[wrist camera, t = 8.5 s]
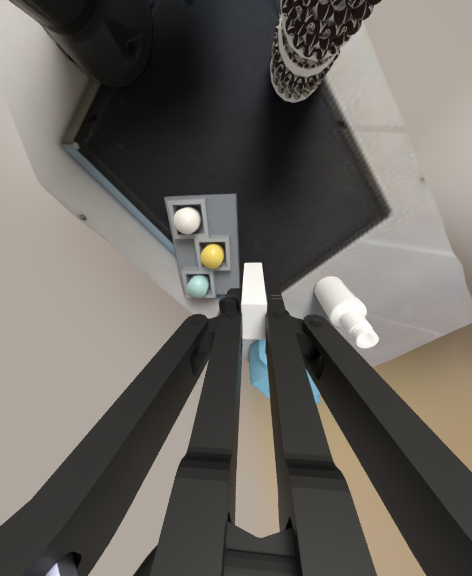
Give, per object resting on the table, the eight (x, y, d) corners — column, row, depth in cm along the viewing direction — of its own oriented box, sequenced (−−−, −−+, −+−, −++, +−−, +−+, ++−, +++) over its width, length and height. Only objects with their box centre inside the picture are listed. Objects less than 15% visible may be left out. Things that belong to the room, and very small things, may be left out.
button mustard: (203, 242, 39) (198, 247, 36) (224, 241, 39) (221, 247, 35) (206, 261, 41) (201, 268, 38) (225, 261, 41) (223, 268, 37)
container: (286, 308, 50) (299, 353, 37) (330, 359, 58) (354, 411, 45) (238, 336, 56) (235, 383, 43) (285, 378, 65) (294, 429, 51)
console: (169, 196, 38) (158, 197, 34) (236, 193, 37) (234, 194, 32) (187, 288, 49) (180, 299, 44) (240, 288, 48) (239, 299, 43)
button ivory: (178, 206, 36) (171, 209, 32) (201, 206, 36) (195, 208, 32) (183, 230, 38) (176, 234, 35) (203, 229, 38) (199, 233, 34)
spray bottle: (325, 304, 48) (360, 361, 33) (307, 288, 47) (336, 341, 31) (348, 287, 46) (399, 340, 30) (331, 270, 44) (375, 318, 28)
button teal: (190, 272, 43) (185, 280, 39) (209, 272, 42) (205, 280, 39) (193, 289, 45) (188, 297, 41) (211, 288, 45) (207, 297, 41)
